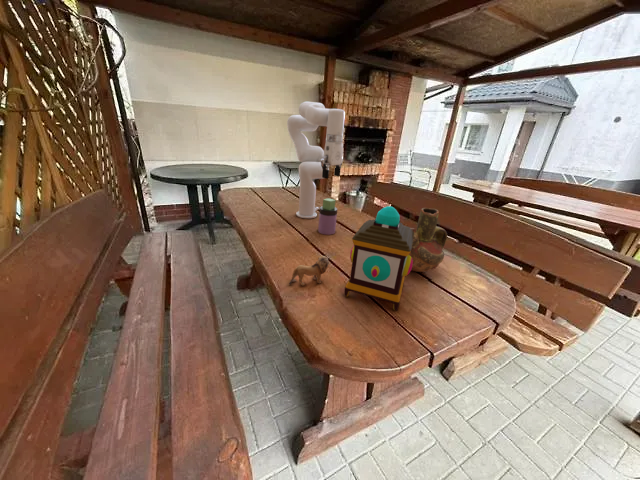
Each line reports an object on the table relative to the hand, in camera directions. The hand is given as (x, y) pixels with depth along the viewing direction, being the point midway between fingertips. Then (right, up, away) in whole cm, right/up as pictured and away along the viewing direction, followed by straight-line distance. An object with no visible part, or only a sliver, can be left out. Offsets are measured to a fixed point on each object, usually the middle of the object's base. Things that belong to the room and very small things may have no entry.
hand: (331, 177), depth 126 cm
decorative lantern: (+14, -48, -36) cm, 61 cm away
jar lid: (-1, -15, +7) cm, 16 cm away
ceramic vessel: (+33, -42, -20) cm, 57 cm away
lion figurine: (-9, -45, -33) cm, 57 cm away
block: (-1, -14, +6) cm, 16 cm away
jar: (-2, -26, +11) cm, 28 cm away
